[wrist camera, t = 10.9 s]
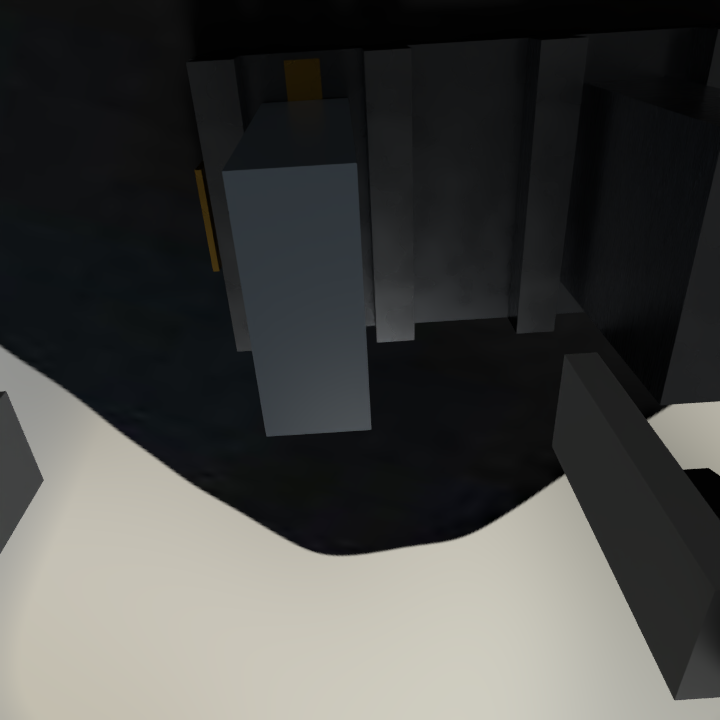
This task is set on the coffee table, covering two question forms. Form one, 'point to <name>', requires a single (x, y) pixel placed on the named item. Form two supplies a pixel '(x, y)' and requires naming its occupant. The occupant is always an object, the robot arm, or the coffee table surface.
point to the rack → (513, 183)
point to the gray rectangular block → (302, 265)
